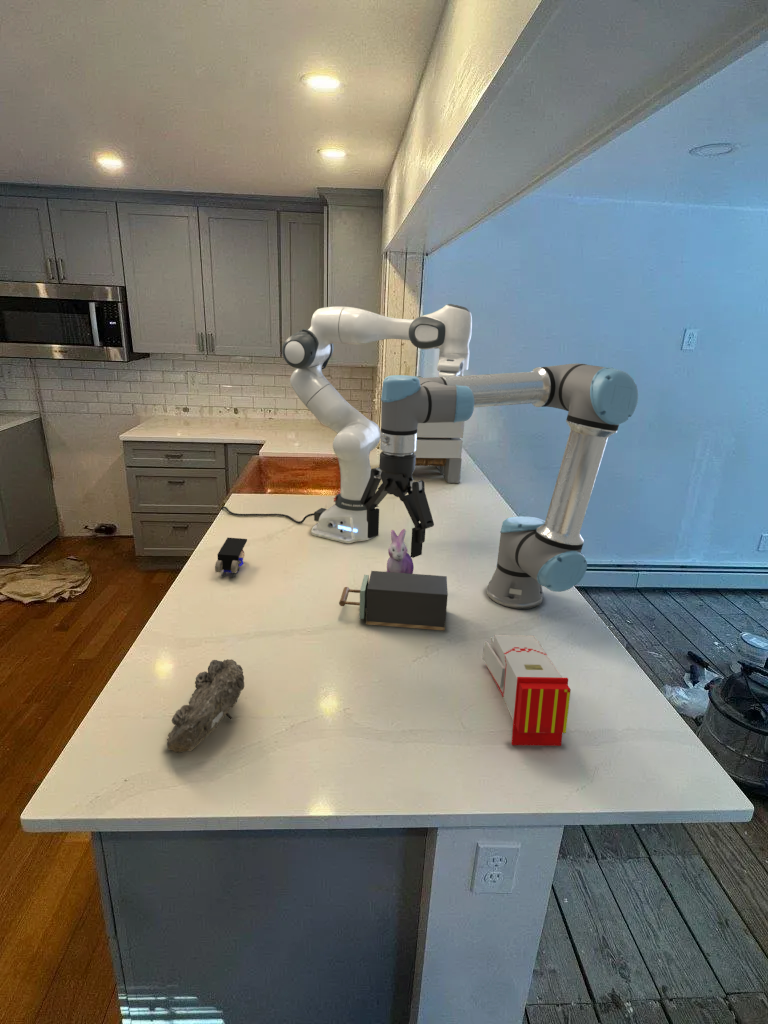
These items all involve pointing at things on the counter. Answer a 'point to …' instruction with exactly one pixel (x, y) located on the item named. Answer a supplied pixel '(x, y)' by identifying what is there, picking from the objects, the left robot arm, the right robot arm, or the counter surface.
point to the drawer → (362, 597)
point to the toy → (529, 689)
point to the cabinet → (407, 600)
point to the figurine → (399, 555)
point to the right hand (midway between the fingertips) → (393, 545)
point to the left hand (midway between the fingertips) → (449, 409)
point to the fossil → (206, 705)
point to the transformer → (441, 448)
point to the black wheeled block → (230, 556)
